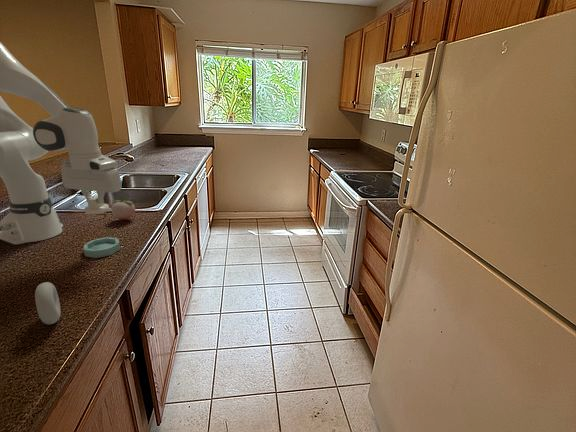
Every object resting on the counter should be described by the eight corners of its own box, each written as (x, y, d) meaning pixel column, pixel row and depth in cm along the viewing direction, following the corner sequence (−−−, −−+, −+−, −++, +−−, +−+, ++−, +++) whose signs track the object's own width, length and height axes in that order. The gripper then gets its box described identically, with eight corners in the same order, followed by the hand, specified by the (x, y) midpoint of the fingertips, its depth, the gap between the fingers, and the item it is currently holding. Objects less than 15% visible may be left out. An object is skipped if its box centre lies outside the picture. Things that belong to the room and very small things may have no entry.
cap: (80, 213, 104) (77, 200, 102) (97, 206, 110) (94, 194, 109) (98, 215, 103) (95, 202, 101) (114, 208, 109) (111, 196, 107)
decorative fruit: (109, 224, 133) (105, 201, 129) (117, 217, 140) (113, 196, 137) (133, 223, 134) (129, 201, 130) (139, 217, 141) (135, 195, 138)
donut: (46, 311, 79) (35, 276, 75) (62, 307, 81) (53, 273, 77) (42, 335, 71) (31, 298, 68) (61, 330, 73) (50, 293, 69)
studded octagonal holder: (77, 255, 107) (75, 248, 106) (102, 242, 117) (101, 235, 116) (103, 259, 104) (102, 252, 104) (127, 245, 114) (125, 239, 113)
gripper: (51, 161, 100) (62, 202, 105) (105, 165, 95) (114, 208, 100) (69, 158, 106) (78, 197, 111) (120, 161, 101) (128, 202, 106)
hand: (95, 202), depth 105 cm, fingers closed on cap, 2 cm apart
